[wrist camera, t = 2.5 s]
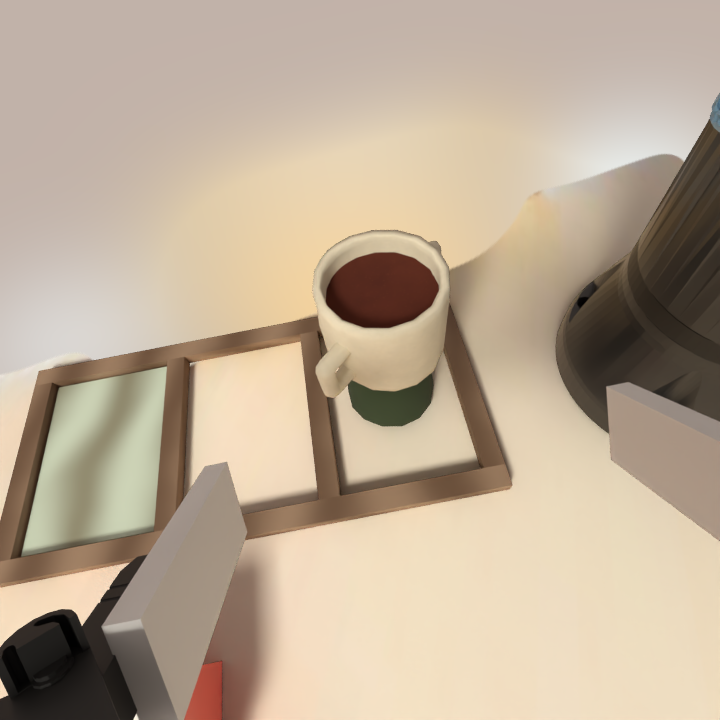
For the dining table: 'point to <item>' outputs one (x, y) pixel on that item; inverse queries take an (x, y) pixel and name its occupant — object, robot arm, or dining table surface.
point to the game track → (181, 456)
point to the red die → (206, 694)
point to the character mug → (382, 322)
